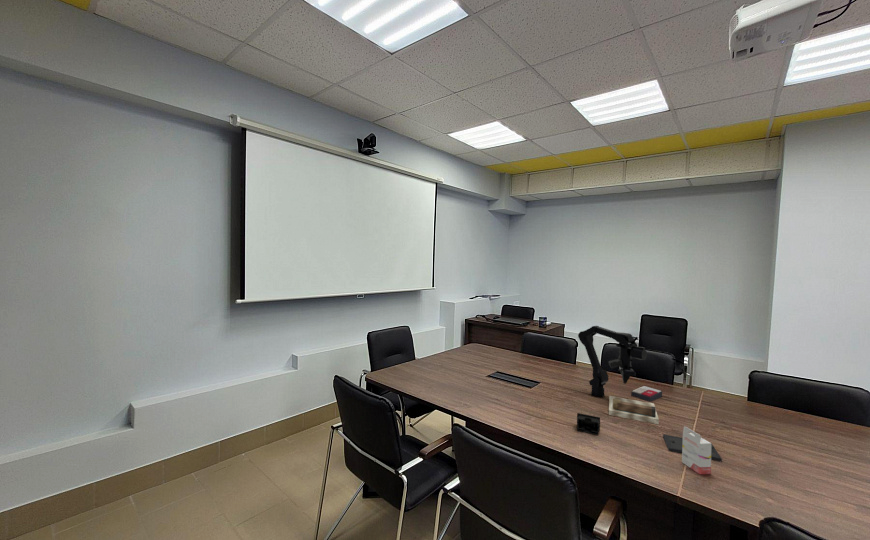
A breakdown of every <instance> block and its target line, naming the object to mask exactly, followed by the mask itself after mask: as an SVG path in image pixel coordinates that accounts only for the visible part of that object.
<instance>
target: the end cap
mask: <svg viewBox="0 0 870 540" xmlns="http://www.w3.org/2000/svg"><path fill="white" fill-rule="evenodd" d="M576 426H577V431H578V432H581V433H585V434H588V435H589V434H590V435H594V436H599V434H600V433H599V432H600V431H601V417H600V416H595V415H592V414H591V415H590V414H585V413H579V412H578V413H577V414H576Z"/></svg>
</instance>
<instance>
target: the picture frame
mask: <svg viewBox="0 0 870 540" xmlns="http://www.w3.org/2000/svg"><path fill="white" fill-rule="evenodd" d="M662 438H663V440H664V442H665V445H666V448H667V449H668V452H672V453H678V454H681V455H682V444H683V437H681V436H674V435H669V434H664V433H663V434H662ZM715 460H716V462H720V461H721V462H723V459H722V456H721V455H720V454H719V453H718V451H717V450H716V447H715V446H714V445H713V443H712V444H711V461H715ZM721 462H720V463H721Z"/></svg>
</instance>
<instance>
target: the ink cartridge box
mask: <svg viewBox="0 0 870 540" xmlns="http://www.w3.org/2000/svg"><path fill="white" fill-rule="evenodd" d="M682 438H683V444H682V454H681V462H682V464H684V465H686V466H687V467H688V468H690V469H691V470H692V471H694V472H695V473H697V474H698V475H712V474H711V473H712V460H711V444H712V445H713V443H712V442H710V441H708V440H706V439H705V438H702V436H701V434H700V433H697V432H696V431H694V430H692V429H691V428H689V427H687V426H686V425H684V426H683V431H682Z"/></svg>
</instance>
